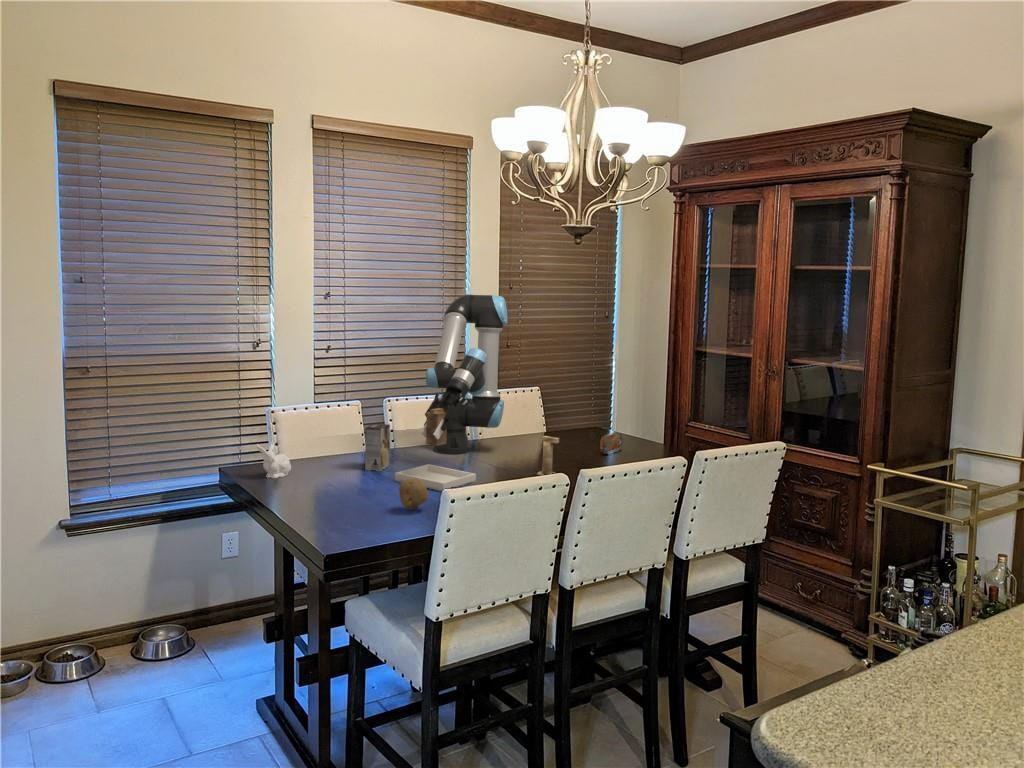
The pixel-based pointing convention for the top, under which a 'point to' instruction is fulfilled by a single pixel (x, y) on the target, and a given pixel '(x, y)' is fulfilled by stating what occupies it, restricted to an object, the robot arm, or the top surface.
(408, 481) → the natural sponge
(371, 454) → the coffee box
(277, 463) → the rabbit
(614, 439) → the tin
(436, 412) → the brown upright block
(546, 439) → the oak post
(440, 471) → the tray
